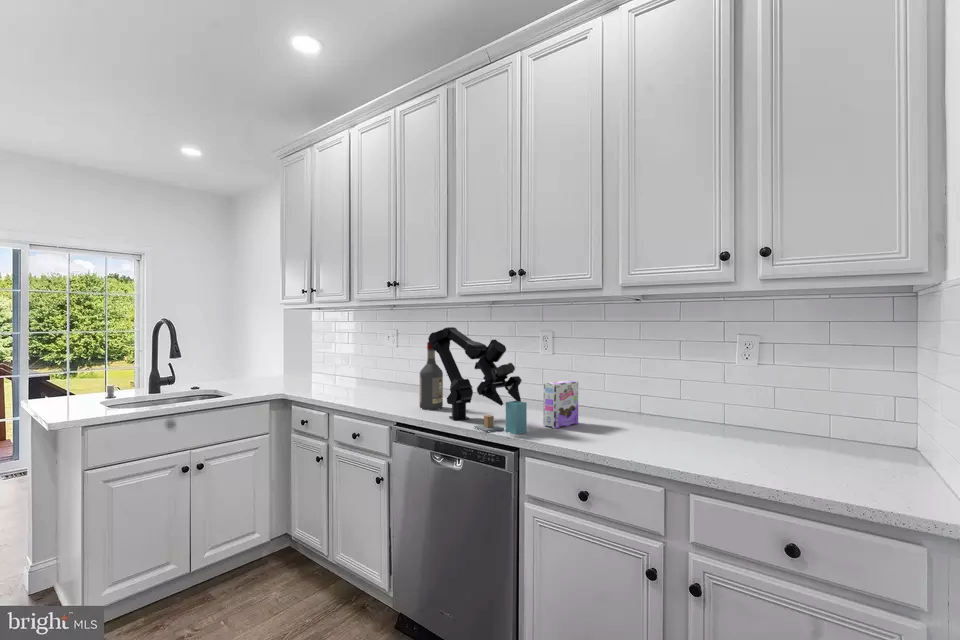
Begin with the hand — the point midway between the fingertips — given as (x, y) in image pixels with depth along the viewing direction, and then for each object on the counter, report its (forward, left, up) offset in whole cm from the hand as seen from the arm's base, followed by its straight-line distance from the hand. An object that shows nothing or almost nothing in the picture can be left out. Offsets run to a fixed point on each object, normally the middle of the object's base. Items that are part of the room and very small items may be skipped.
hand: (511, 403), depth 169 cm
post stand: (-6, -6, -10) cm, 13 cm away
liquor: (-55, -12, -10) cm, 57 cm away
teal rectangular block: (+2, +1, -10) cm, 10 cm away
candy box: (-1, +22, -10) cm, 24 cm away
